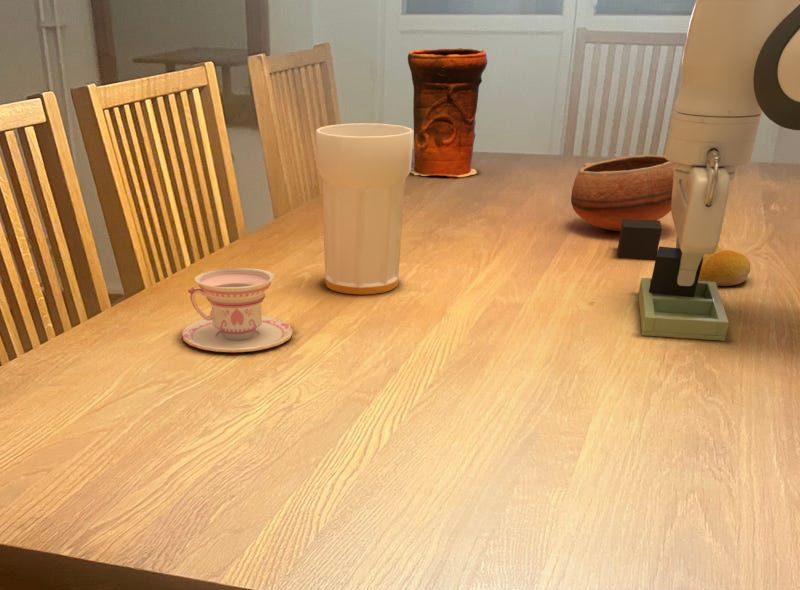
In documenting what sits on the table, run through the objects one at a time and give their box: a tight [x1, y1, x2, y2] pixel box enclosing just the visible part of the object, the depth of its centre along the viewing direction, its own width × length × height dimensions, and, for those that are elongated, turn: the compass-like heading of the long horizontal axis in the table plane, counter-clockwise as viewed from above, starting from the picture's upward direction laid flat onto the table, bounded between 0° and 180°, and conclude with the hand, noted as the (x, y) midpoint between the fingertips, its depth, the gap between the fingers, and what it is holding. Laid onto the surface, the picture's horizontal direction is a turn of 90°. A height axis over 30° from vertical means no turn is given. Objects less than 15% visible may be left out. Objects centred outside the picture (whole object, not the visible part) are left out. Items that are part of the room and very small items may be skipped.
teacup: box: [181, 267, 294, 353], centre depth 103 cm, size 12×12×6 cm
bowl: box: [570, 154, 675, 232], centre depth 142 cm, size 16×16×10 cm
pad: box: [649, 245, 704, 297], centre depth 110 cm, size 5×5×4 cm
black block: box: [617, 219, 663, 261], centre depth 131 cm, size 5×5×4 cm
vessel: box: [407, 47, 488, 178], centre depth 179 cm, size 14×14×20 cm
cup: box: [315, 122, 414, 296], centre depth 116 cm, size 11×11×17 cm
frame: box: [637, 277, 730, 342], centre depth 109 cm, size 8×16×2 cm, turn 166°
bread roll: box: [698, 245, 751, 287], centre depth 121 cm, size 8×9×4 cm
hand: (682, 276), depth 110 cm, fingers closed on pad, 5 cm apart
